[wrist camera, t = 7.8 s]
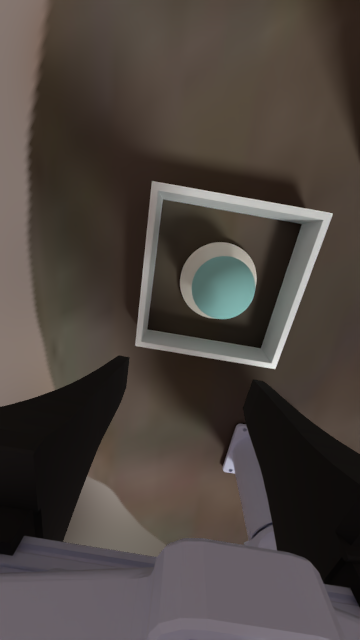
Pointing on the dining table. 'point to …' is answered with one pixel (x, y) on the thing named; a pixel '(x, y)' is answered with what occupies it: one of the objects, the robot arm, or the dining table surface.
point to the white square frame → (289, 292)
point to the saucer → (200, 258)
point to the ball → (223, 287)
